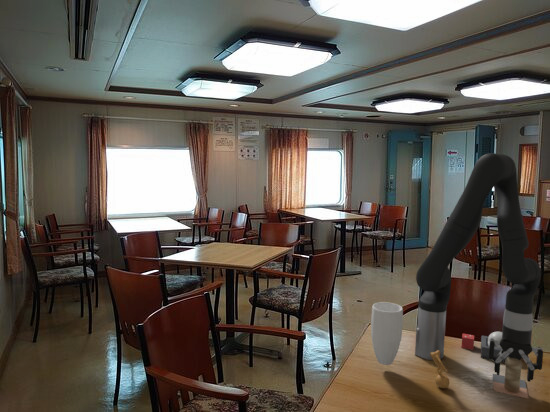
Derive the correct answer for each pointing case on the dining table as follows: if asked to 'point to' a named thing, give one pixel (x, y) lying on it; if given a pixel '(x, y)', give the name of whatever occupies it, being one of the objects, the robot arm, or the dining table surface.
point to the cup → (386, 331)
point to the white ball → (495, 337)
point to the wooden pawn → (512, 374)
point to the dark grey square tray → (486, 349)
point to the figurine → (440, 380)
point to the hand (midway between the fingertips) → (513, 377)
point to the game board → (499, 386)
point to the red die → (467, 341)
